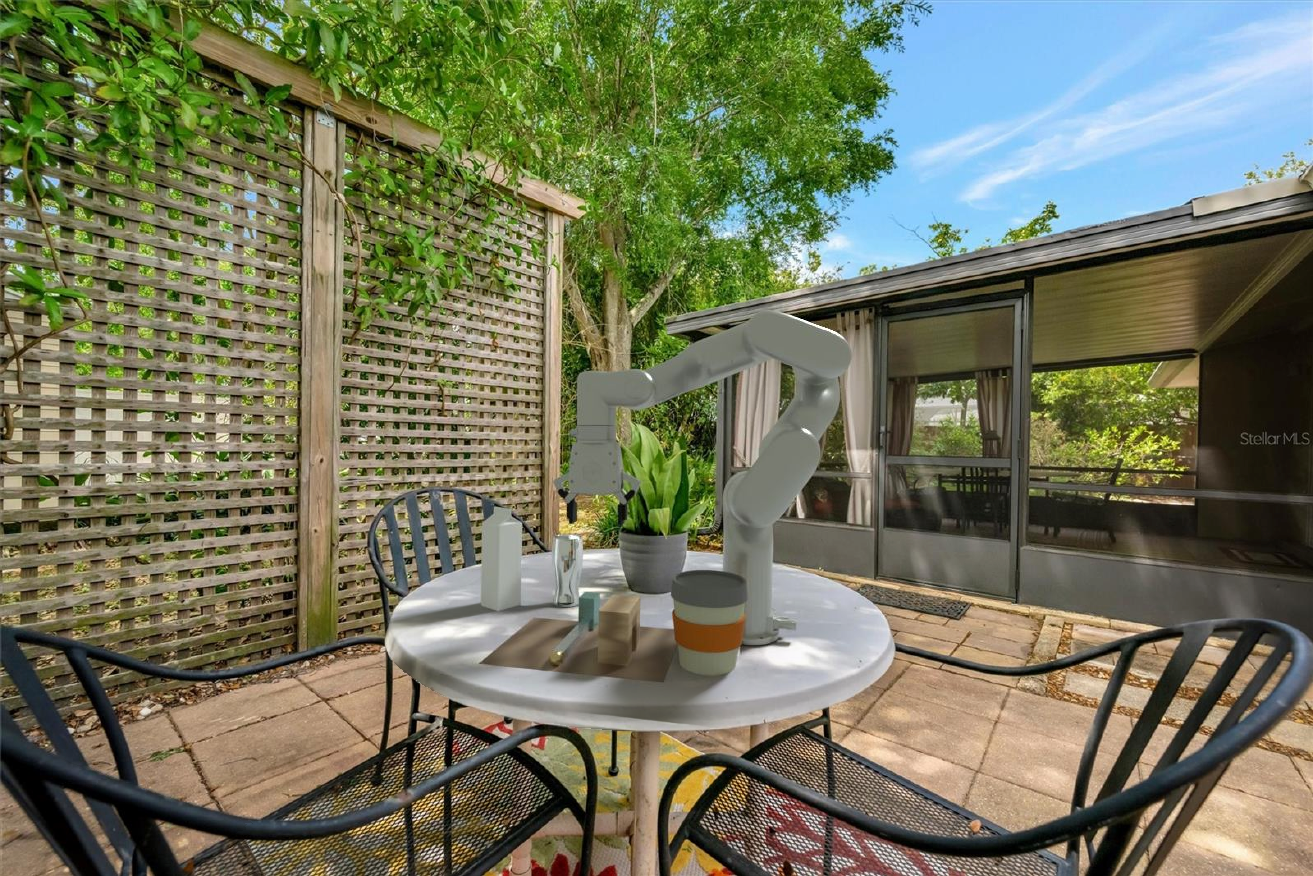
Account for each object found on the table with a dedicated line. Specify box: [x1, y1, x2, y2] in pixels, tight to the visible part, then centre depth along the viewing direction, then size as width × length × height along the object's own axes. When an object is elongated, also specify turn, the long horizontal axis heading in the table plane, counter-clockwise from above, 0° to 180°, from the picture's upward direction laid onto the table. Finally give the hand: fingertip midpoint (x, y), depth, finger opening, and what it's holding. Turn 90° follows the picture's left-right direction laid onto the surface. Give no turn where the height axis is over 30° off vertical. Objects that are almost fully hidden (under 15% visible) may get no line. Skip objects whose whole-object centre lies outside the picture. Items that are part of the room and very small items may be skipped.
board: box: [478, 617, 678, 683], centre depth 97 cm, size 30×22×1 cm
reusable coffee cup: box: [670, 569, 748, 676], centre depth 90 cm, size 13×13×15 cm
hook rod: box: [549, 591, 601, 665], centre depth 98 cm, size 21×3×6 cm, turn 170°
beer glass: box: [551, 533, 584, 608], centre depth 124 cm, size 7×7×15 cm
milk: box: [480, 506, 523, 612], centre depth 118 cm, size 6×6×22 cm
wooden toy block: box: [598, 594, 641, 666], centre depth 93 cm, size 5×9×8 cm, turn 170°
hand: (596, 523), depth 107 cm, fingers open, 9 cm apart
